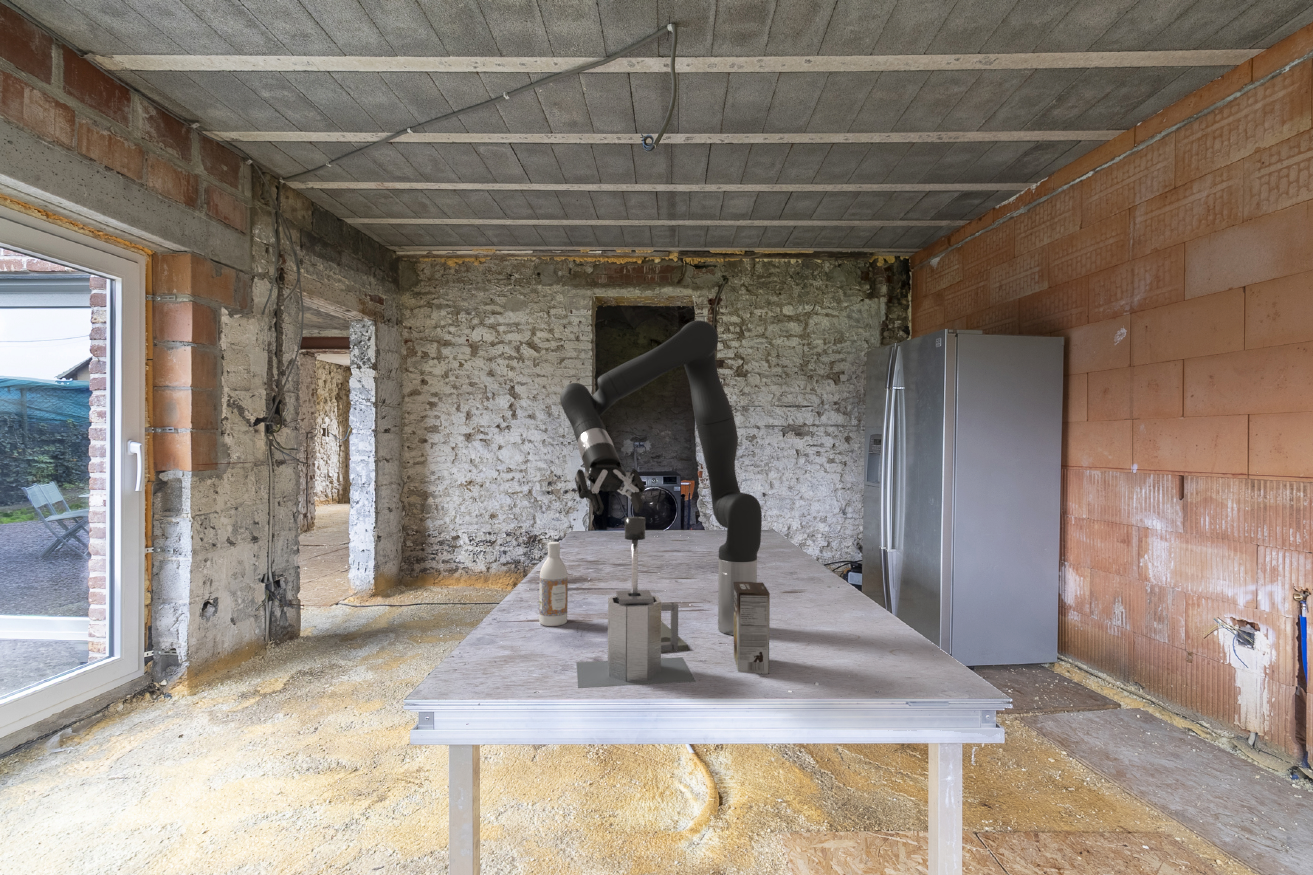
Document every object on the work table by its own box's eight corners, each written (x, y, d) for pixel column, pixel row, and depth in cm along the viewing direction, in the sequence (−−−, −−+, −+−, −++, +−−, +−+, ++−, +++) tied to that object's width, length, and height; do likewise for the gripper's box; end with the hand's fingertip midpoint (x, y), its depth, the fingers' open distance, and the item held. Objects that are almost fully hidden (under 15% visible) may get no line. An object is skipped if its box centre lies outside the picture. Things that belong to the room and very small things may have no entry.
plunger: (648, 621, 123) (649, 515, 123) (654, 631, 117) (654, 519, 117) (615, 622, 122) (616, 516, 122) (618, 633, 115) (619, 520, 116)
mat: (682, 659, 127) (682, 657, 127) (696, 683, 115) (696, 681, 115) (576, 664, 124) (576, 662, 124) (578, 689, 111) (578, 687, 111)
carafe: (672, 660, 126) (673, 587, 126) (682, 678, 116) (682, 599, 116) (606, 663, 123) (607, 589, 124) (610, 682, 114) (611, 602, 114)
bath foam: (545, 628, 148) (546, 545, 148) (534, 621, 153) (535, 541, 154) (571, 624, 151) (572, 543, 152) (560, 617, 157) (560, 539, 157)
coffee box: (732, 657, 129) (733, 580, 129) (763, 658, 128) (763, 581, 129) (736, 673, 120) (737, 591, 120) (769, 674, 119) (770, 591, 119)
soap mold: (662, 627, 151) (662, 613, 151) (690, 654, 132) (690, 637, 132) (621, 631, 148) (622, 616, 148) (645, 658, 129) (645, 642, 129)
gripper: (622, 465, 139) (645, 521, 128) (562, 465, 132) (582, 524, 122) (633, 441, 134) (657, 497, 124) (572, 440, 127) (592, 499, 117)
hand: (620, 510), depth 123 cm, fingers open, 8 cm apart
